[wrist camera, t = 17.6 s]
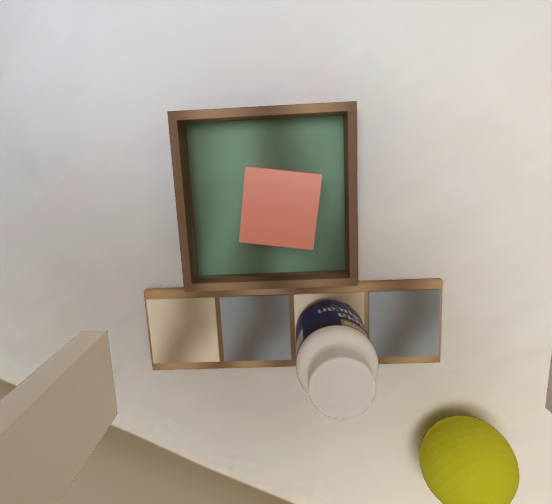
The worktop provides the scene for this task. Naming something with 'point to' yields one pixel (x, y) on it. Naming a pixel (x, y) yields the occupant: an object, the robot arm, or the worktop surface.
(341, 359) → the pill bottle
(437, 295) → the board
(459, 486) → the green gourd
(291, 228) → the salmon red cube
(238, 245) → the dice tray
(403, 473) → the worktop surface
